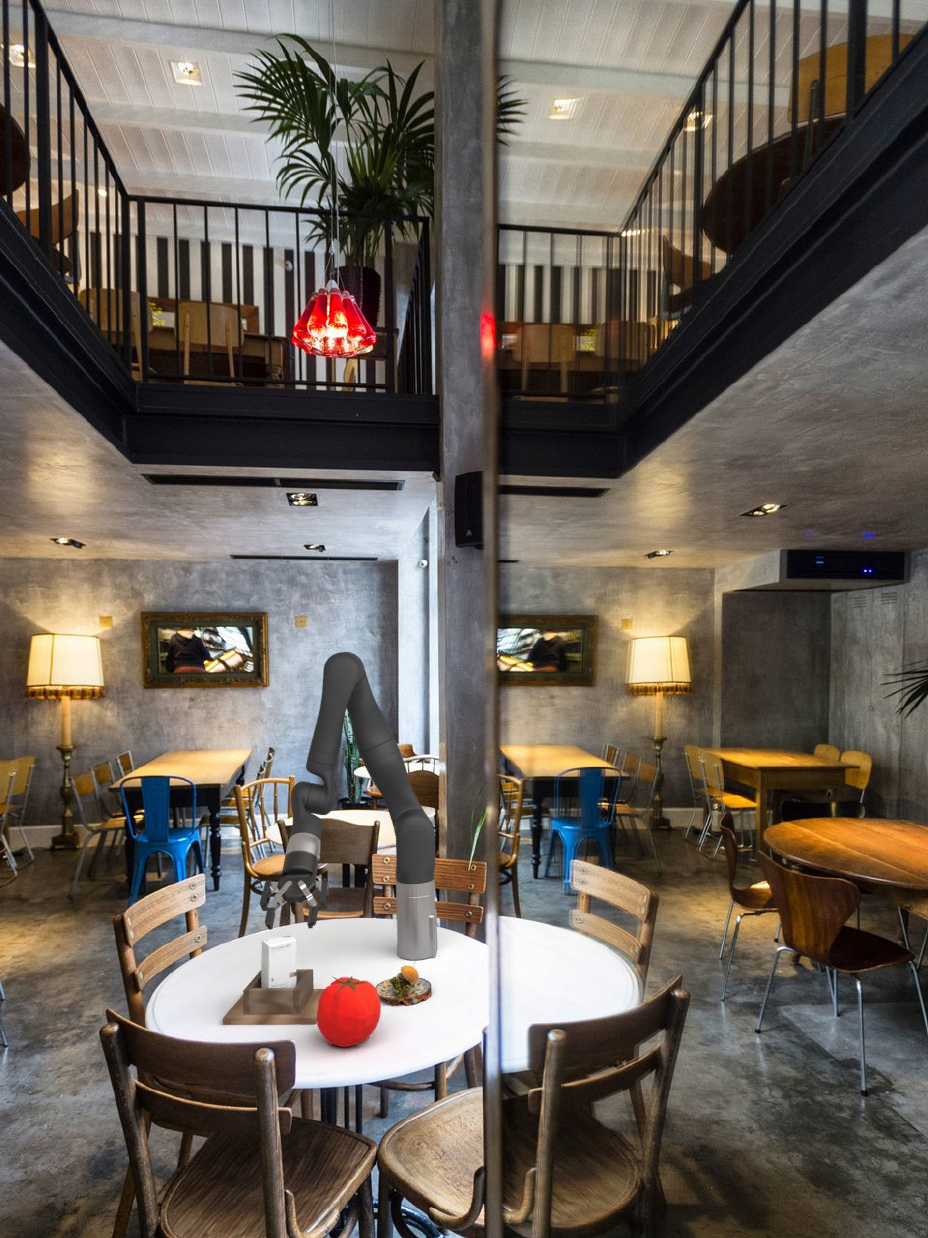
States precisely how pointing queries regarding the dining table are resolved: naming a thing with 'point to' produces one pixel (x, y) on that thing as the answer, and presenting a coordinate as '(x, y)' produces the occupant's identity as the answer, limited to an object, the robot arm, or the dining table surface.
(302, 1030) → the dining table surface
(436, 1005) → the dining table surface
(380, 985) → the plate of food
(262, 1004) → the sleeve stand
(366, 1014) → the tomato
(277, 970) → the skincare box
